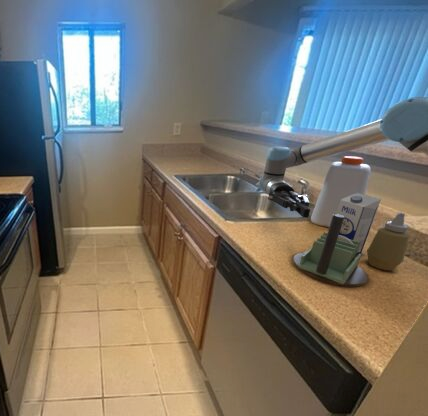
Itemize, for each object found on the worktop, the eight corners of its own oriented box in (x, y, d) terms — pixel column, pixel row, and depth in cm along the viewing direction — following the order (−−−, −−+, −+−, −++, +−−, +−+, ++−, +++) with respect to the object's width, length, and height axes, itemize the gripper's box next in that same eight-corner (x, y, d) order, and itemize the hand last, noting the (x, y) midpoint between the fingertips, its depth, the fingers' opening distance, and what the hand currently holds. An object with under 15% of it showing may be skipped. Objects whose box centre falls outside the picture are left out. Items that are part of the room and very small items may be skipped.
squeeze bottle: (403, 276, 81) (427, 220, 75) (367, 268, 85) (387, 215, 78) (393, 262, 88) (415, 210, 81) (360, 256, 91) (378, 206, 85)
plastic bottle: (308, 224, 116) (326, 158, 106) (313, 213, 126) (330, 152, 116) (355, 234, 107) (380, 163, 96) (356, 221, 117) (379, 156, 107)
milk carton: (361, 254, 93) (382, 198, 85) (346, 257, 91) (365, 200, 84) (340, 244, 99) (357, 192, 92) (325, 247, 98) (341, 194, 90)
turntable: (364, 265, 86) (365, 263, 86) (369, 295, 73) (370, 292, 73) (295, 248, 97) (296, 246, 97) (289, 272, 84) (290, 269, 84)
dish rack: (316, 250, 93) (331, 198, 87) (358, 264, 85) (379, 207, 78) (297, 268, 84) (313, 210, 77) (342, 285, 76) (364, 223, 69)
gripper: (296, 200, 109) (326, 225, 87) (260, 199, 111) (281, 222, 90) (300, 182, 106) (333, 203, 85) (263, 181, 109) (286, 201, 87)
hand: (306, 213), depth 87 cm, fingers closed
